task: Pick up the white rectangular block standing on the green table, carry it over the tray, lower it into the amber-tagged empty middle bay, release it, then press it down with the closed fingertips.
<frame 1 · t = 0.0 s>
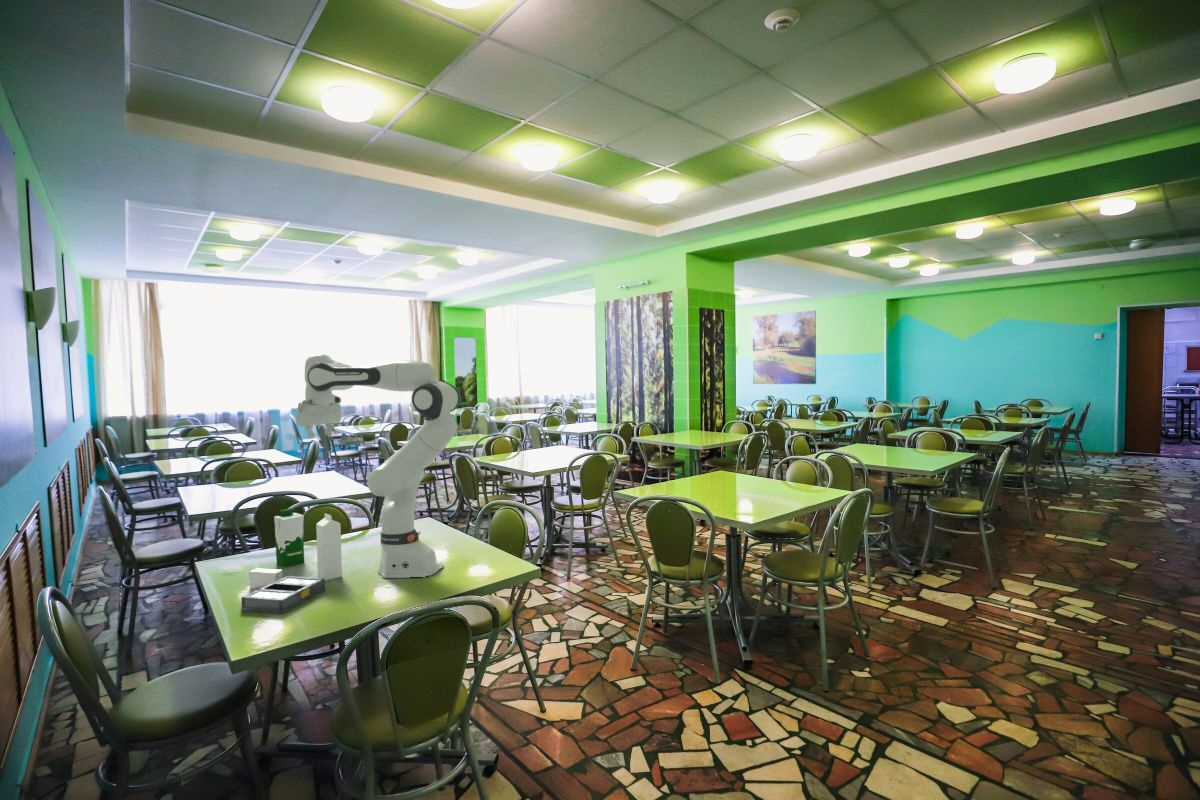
hand: (320, 436, 209), 48 cm above the table, fingers open, 8 cm apart
white rectangular block: (266, 588, 187), on the table
milk carton: (290, 563, 213), on the table
milk: (329, 577, 197), on the table
tray: (285, 599, 177), on the table
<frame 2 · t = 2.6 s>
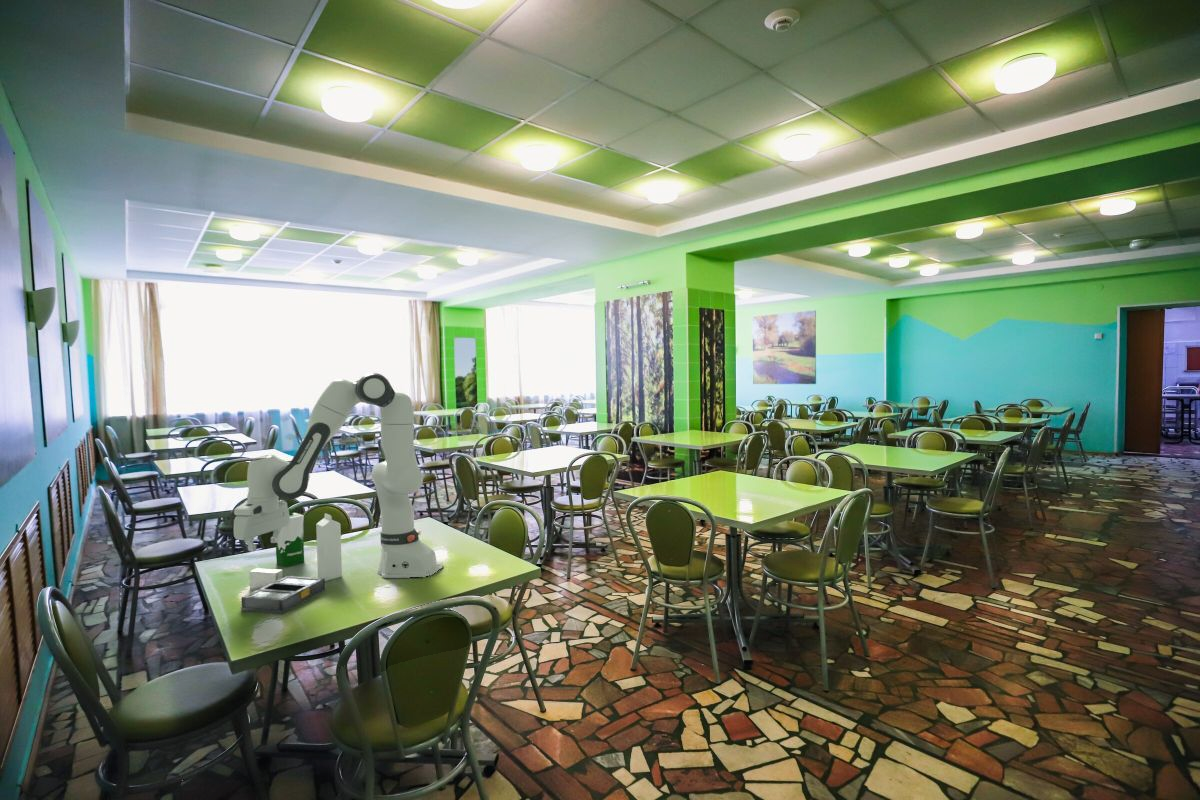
hand: (263, 546, 187), 14 cm above the table, fingers open, 8 cm apart
nothing on the table moved.
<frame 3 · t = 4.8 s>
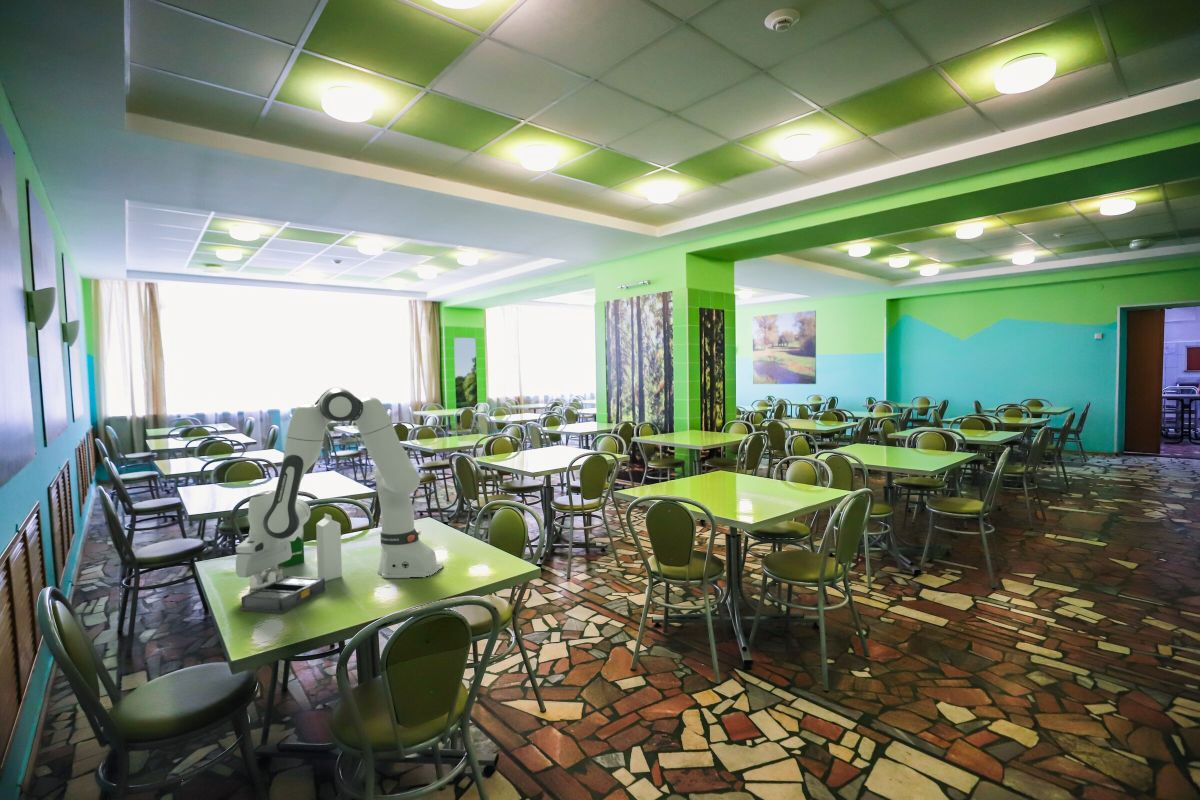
hand: (266, 581, 187), 2 cm above the table, fingers closed on white rectangular block, 3 cm apart
white rectangular block: (266, 588, 187), on the table, touching gripper
everything else where it was.
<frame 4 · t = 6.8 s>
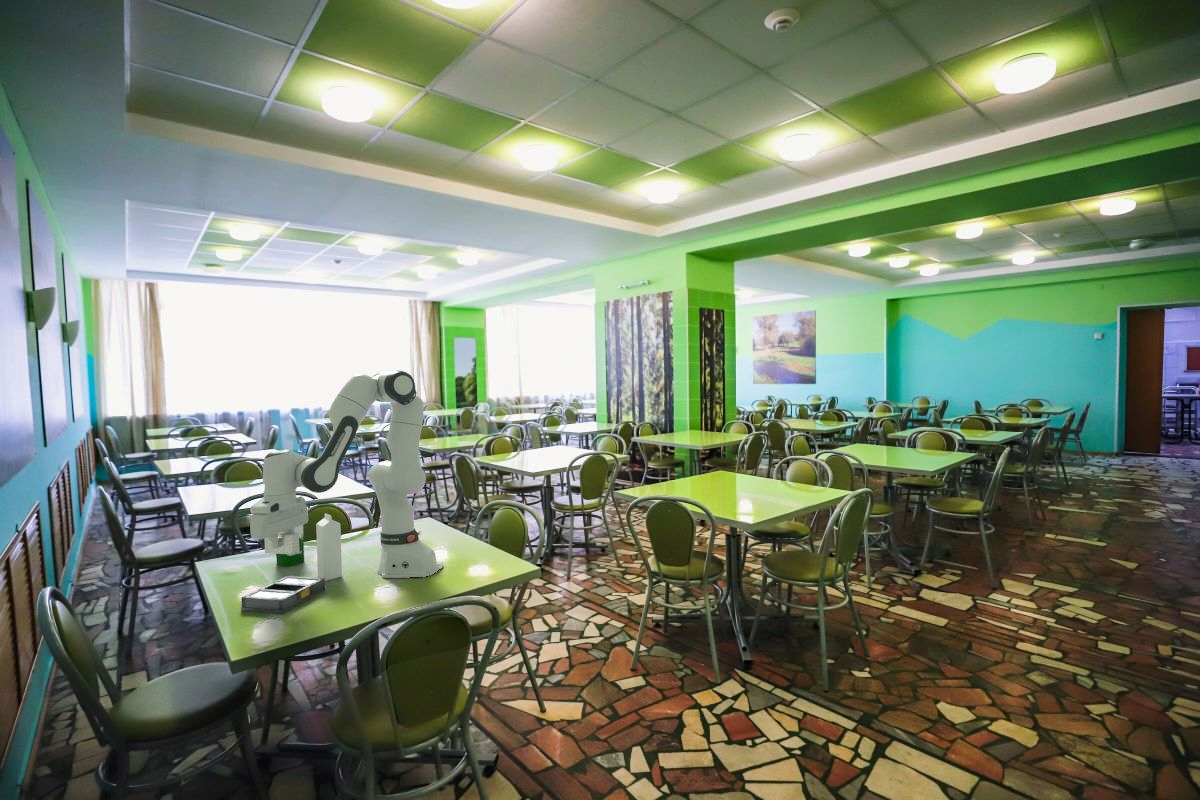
hand: (282, 545, 177), 17 cm above the table, fingers closed on white rectangular block, 3 cm apart
white rectangular block: (282, 552, 177), point 15 cm above the table, touching gripper
everything else where it was.
when the fingers open (5 cm above the table, at t = 9.1 s): white rectangular block drops 2 cm, resting on tray.
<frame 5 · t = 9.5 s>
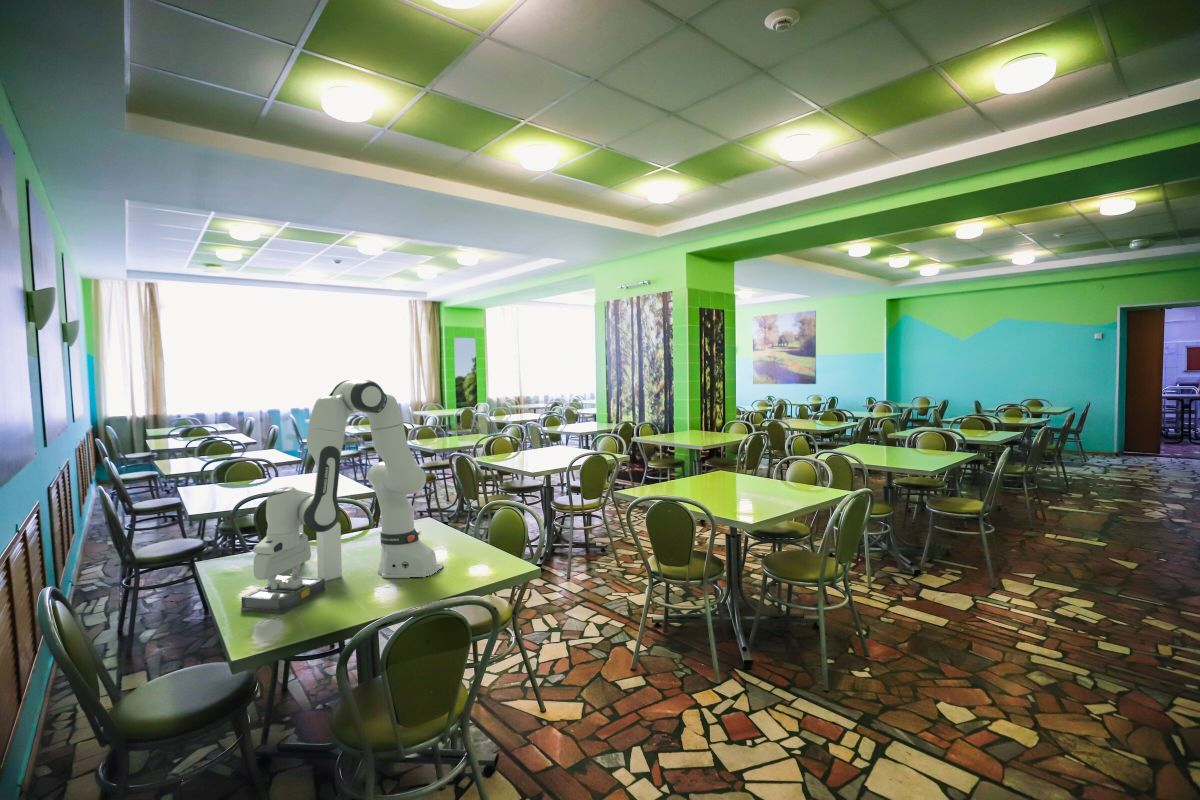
hand: (284, 583, 177), 5 cm above the table, fingers open, 6 cm apart
white rectangular block: (285, 596, 177), point 1 cm above the table, touching tray
everything else where it was.
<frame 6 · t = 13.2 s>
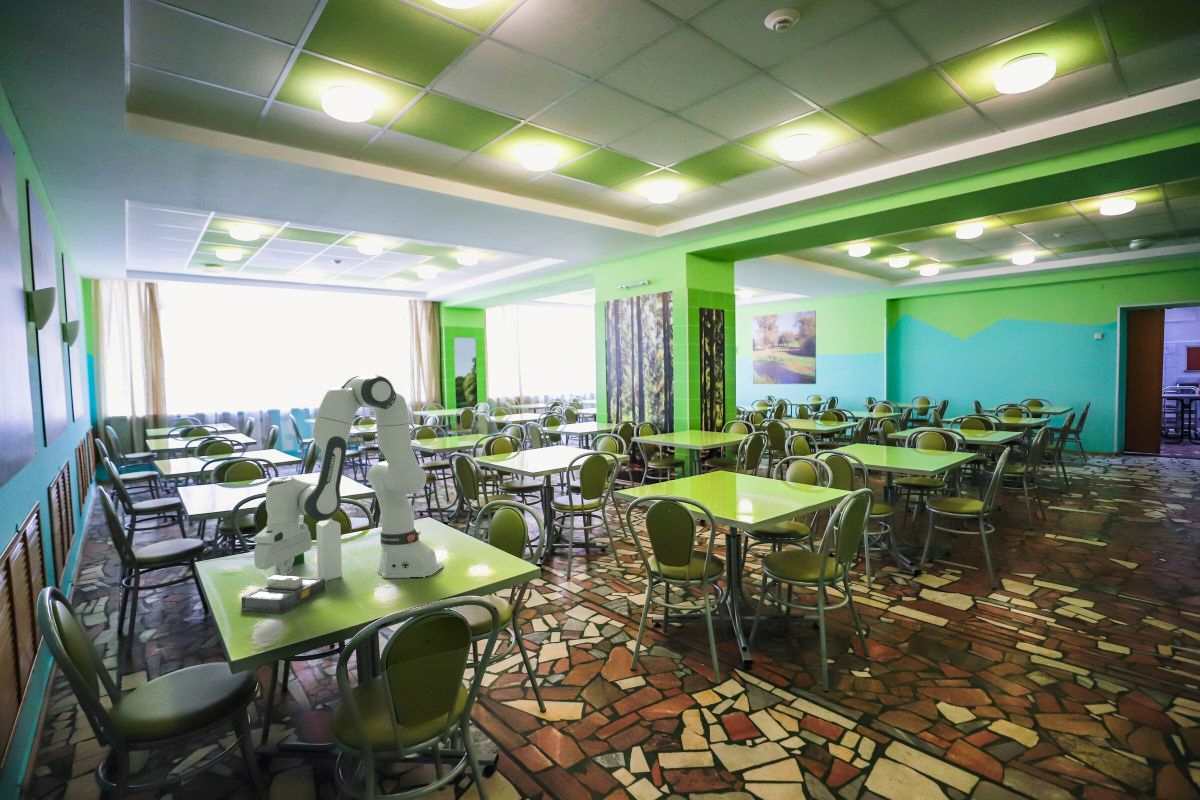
hand: (286, 573, 177), 8 cm above the table, fingers closed
nothing on the table moved.
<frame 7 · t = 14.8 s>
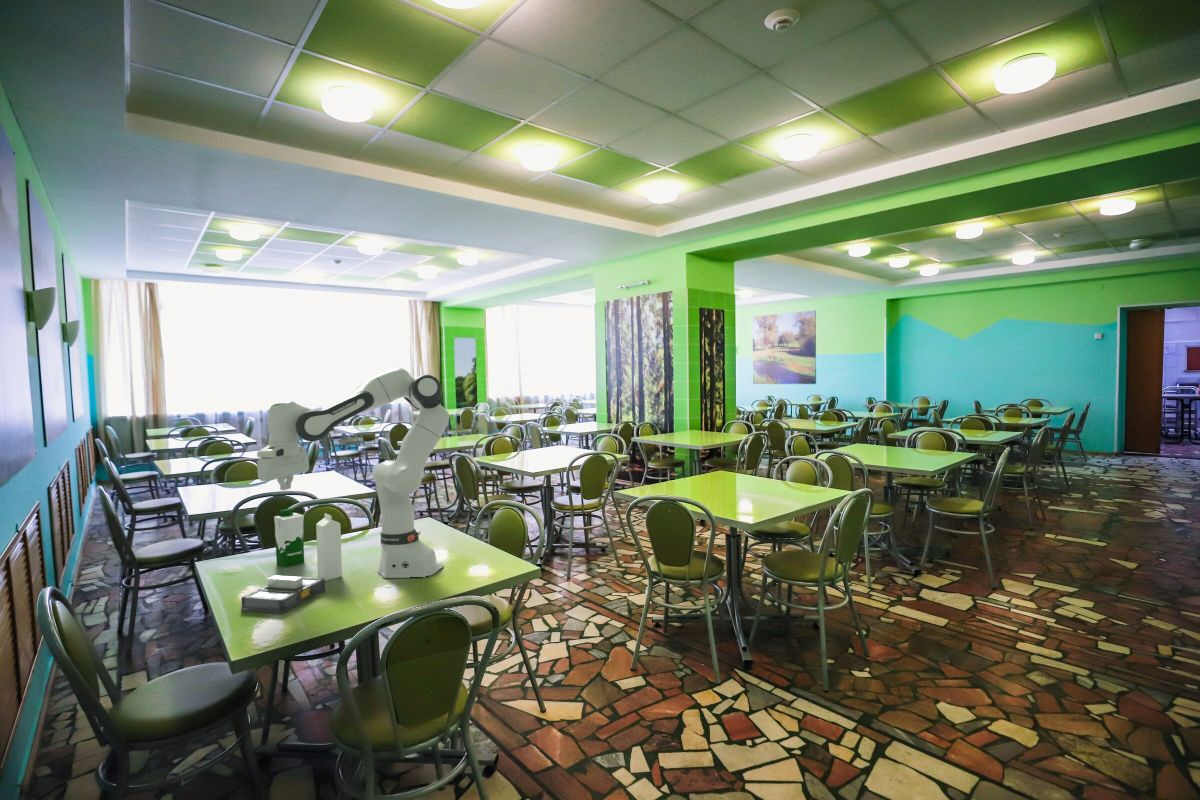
hand: (285, 489, 193), 32 cm above the table, fingers closed
nothing on the table moved.
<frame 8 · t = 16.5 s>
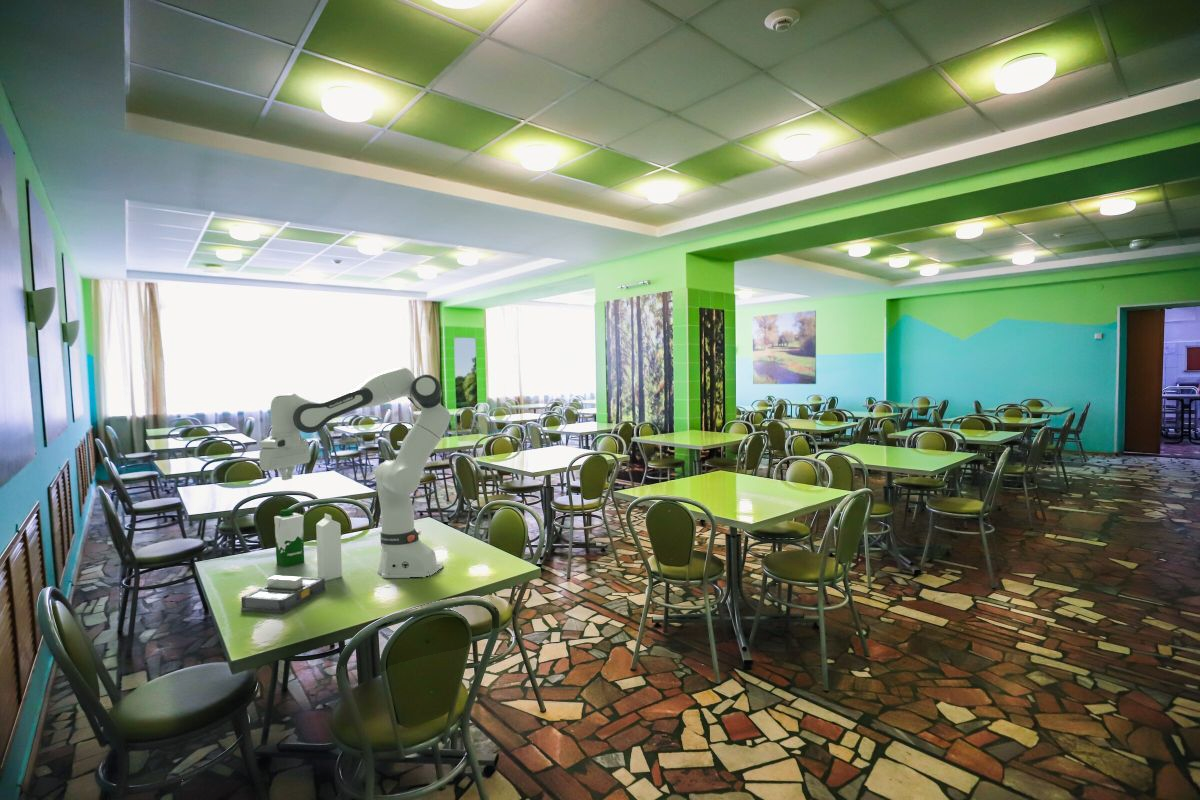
hand: (287, 479, 198), 34 cm above the table, fingers closed
nothing on the table moved.
at the end: white rectangular block 0.1 cm off-centre on the tray, point 1.0 cm above the tray's base; white rectangular block tilted 0°; the gripper is holding nothing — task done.
